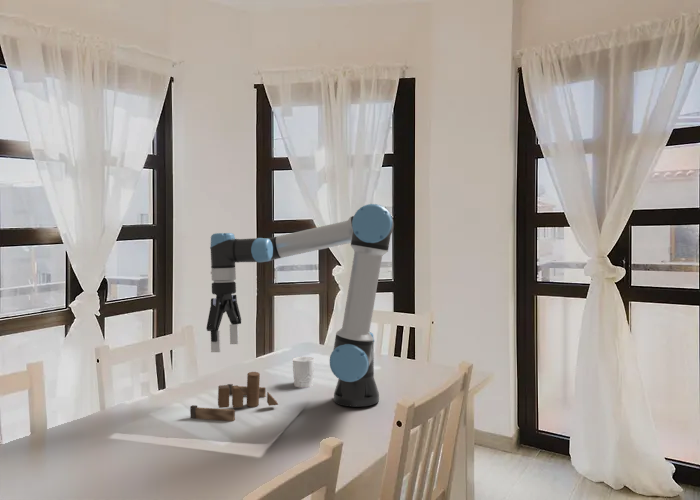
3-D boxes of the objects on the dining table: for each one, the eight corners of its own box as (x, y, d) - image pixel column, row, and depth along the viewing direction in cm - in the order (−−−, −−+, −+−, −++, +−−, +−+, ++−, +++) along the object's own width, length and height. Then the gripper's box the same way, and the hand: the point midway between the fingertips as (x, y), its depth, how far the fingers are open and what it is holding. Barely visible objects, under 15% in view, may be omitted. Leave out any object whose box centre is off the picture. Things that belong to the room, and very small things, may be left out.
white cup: (288, 388, 187) (288, 360, 187) (299, 382, 194) (298, 356, 194) (308, 390, 184) (308, 362, 184) (317, 384, 191) (317, 357, 191)
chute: (265, 396, 176) (265, 385, 176) (233, 421, 150) (233, 409, 150) (228, 394, 179) (228, 384, 179) (190, 418, 153) (190, 406, 153)
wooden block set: (219, 415, 156) (220, 382, 155) (216, 405, 164) (217, 373, 163) (278, 410, 162) (279, 378, 161) (272, 400, 170) (273, 370, 170)
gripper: (229, 279, 178) (231, 341, 178) (193, 284, 154) (195, 355, 153) (249, 279, 177) (251, 341, 176) (216, 283, 152) (218, 355, 152)
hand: (225, 348), depth 165 cm, fingers open, 13 cm apart
